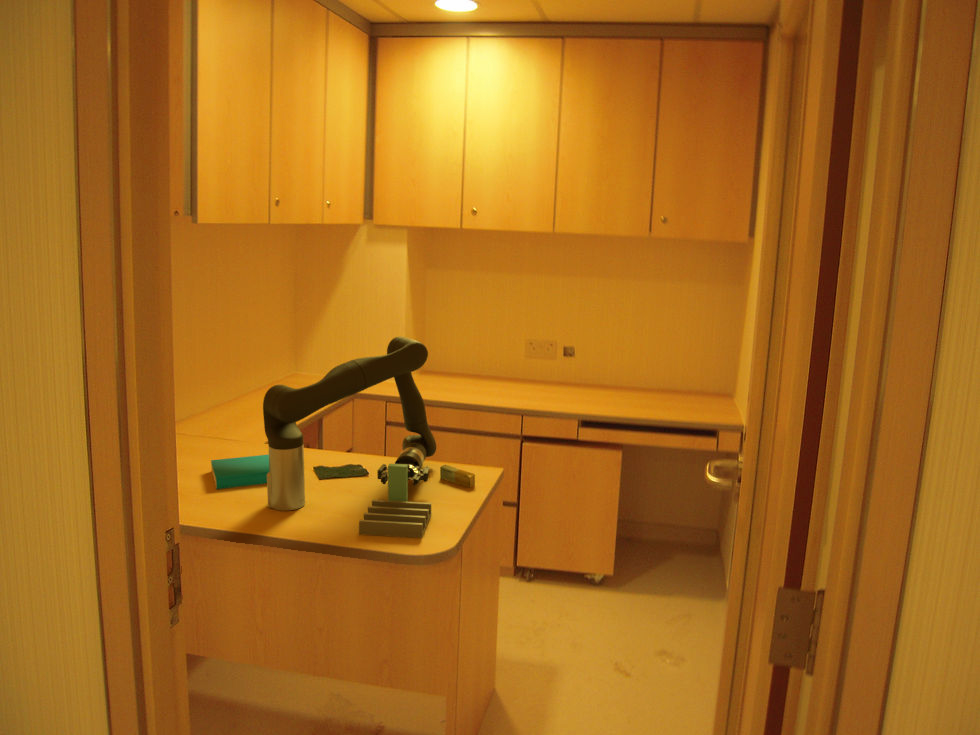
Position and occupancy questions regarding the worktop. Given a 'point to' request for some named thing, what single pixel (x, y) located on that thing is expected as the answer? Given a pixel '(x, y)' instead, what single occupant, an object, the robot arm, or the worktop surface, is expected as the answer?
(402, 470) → the card
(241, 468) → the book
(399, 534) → the rack
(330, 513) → the worktop surface
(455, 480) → the medication box
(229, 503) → the worktop surface
